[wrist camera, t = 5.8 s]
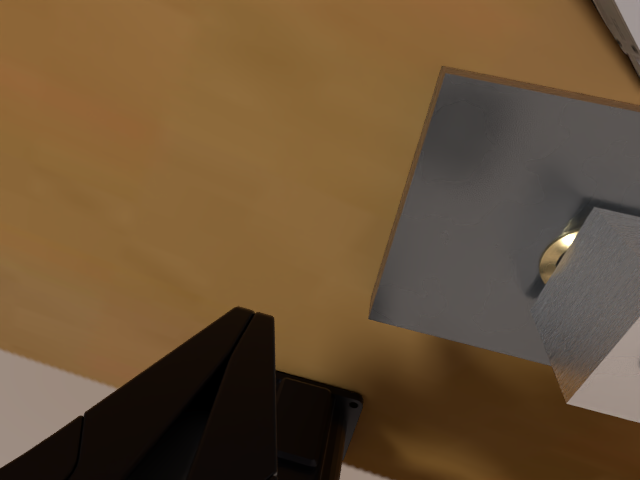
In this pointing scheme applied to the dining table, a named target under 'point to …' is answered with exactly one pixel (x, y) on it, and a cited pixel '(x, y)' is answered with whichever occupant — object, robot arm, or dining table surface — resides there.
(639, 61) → the caliper
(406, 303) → the plate
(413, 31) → the dining table surface
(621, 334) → the block
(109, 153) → the dining table surface
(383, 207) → the dining table surface
